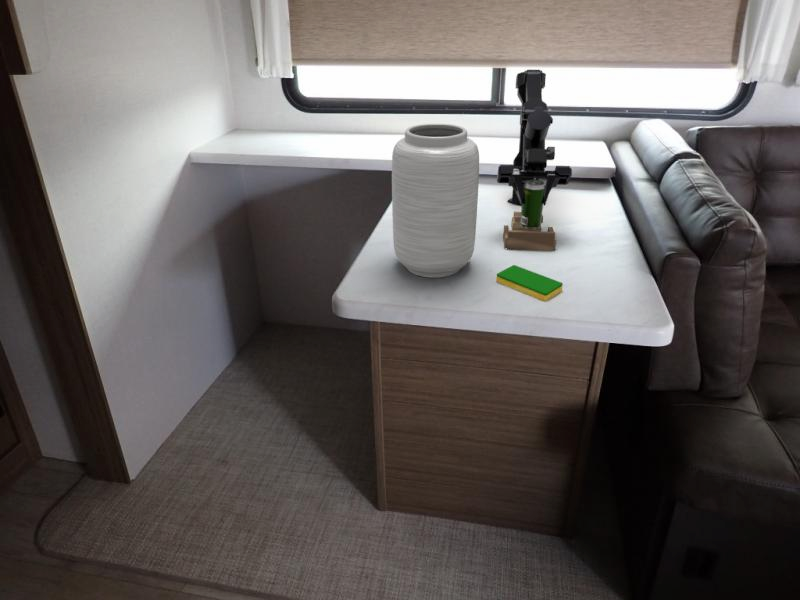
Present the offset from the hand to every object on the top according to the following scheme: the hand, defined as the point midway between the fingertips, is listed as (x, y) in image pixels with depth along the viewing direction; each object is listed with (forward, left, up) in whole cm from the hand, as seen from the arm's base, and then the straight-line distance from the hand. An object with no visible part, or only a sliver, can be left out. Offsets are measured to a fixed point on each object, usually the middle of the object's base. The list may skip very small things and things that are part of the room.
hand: (533, 204), depth 149 cm
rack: (-1, -1, -12) cm, 12 cm away
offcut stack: (-9, -6, -12) cm, 16 cm away
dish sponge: (+21, +11, -12) cm, 27 cm away
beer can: (-1, -1, -7) cm, 7 cm away
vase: (+26, -13, -12) cm, 31 cm away
